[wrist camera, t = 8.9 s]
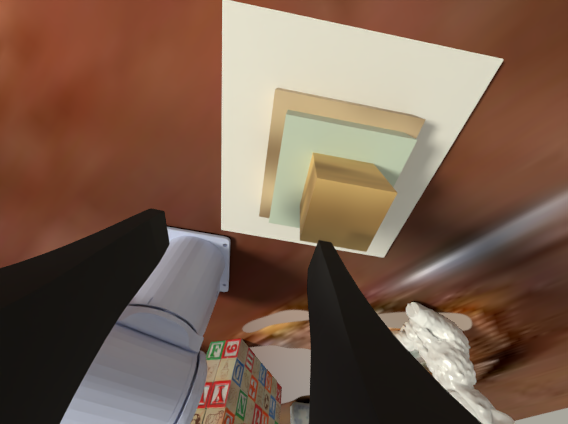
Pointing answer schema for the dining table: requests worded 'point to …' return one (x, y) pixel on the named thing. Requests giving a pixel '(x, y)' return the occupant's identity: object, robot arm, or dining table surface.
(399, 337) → the white creature statuette
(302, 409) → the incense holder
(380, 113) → the oak base block
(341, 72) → the linen mat
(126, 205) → the dining table surface
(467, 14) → the dining table surface
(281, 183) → the sage top block
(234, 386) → the stack of blocks
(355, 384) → the robot arm
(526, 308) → the dining table surface
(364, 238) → the ochre cube
